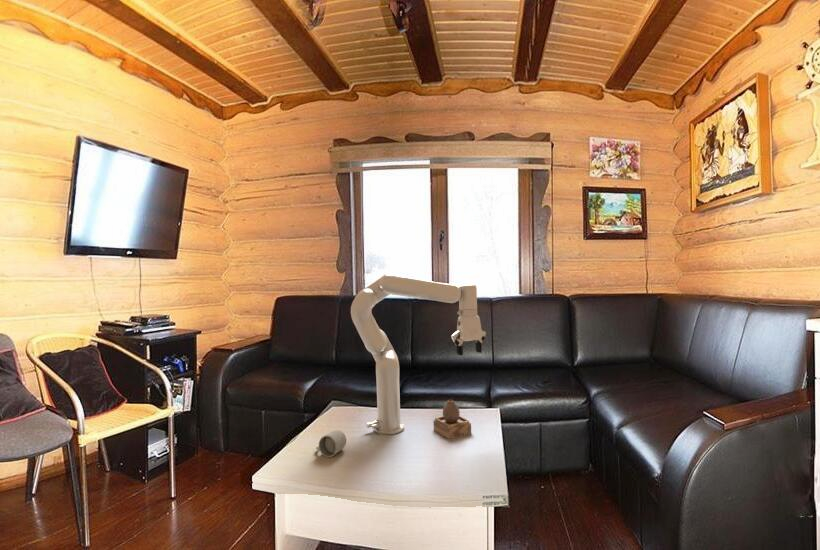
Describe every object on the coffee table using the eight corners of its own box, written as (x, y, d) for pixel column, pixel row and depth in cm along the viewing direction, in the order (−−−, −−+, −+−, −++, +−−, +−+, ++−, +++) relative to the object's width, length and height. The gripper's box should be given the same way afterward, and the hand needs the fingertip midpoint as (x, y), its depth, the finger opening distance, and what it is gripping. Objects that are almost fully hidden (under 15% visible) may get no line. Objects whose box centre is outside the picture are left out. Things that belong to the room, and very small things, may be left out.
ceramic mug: (348, 449, 152) (347, 429, 152) (336, 459, 144) (335, 437, 144) (324, 445, 156) (323, 425, 156) (311, 454, 148) (310, 433, 148)
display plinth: (448, 439, 159) (447, 426, 159) (433, 429, 168) (433, 417, 168) (471, 433, 164) (470, 421, 164) (455, 424, 173) (455, 412, 173)
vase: (448, 426, 161) (448, 404, 161) (439, 420, 167) (439, 399, 167) (463, 422, 165) (462, 401, 164) (453, 417, 171) (453, 396, 171)
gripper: (456, 315, 165) (457, 357, 165) (490, 312, 173) (491, 352, 173) (446, 314, 172) (447, 354, 172) (479, 311, 180) (480, 349, 180)
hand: (469, 353), depth 173 cm, fingers open, 9 cm apart
